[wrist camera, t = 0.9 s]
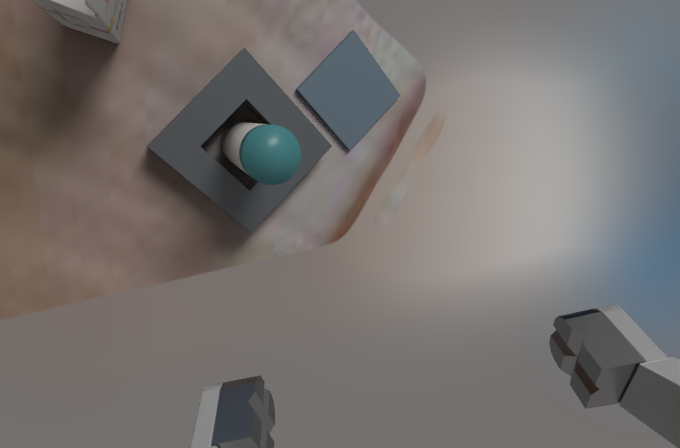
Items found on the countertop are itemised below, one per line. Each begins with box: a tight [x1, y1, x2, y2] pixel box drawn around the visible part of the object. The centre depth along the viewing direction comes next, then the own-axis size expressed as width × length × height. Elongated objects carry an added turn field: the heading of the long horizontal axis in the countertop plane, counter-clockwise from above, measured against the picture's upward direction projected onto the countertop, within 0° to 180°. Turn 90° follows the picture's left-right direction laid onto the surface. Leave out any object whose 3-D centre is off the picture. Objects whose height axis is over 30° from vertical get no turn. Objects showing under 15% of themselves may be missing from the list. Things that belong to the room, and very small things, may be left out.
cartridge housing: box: [147, 48, 332, 233], centre depth 43 cm, size 14×14×3 cm
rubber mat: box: [296, 30, 400, 150], centre depth 47 cm, size 10×10×1 cm
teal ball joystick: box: [221, 122, 301, 185], centre depth 38 cm, size 5×5×14 cm
